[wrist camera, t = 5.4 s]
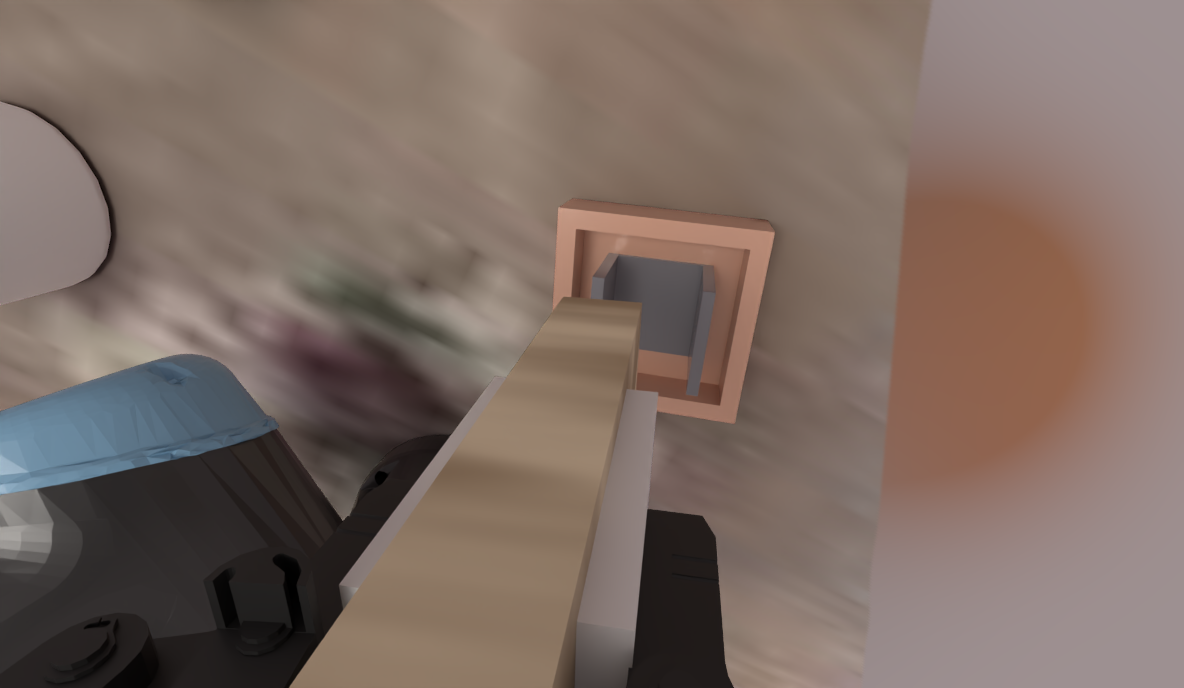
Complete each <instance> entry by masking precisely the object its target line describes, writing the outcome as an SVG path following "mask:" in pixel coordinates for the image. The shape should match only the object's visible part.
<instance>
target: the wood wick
mask: <svg viewBox="0 0 1184 688" xmlns="http://www.w3.org/2000/svg"><path fill="white" fill-rule="evenodd" d="M641 313H642V303H640V302H627V301H614V300H601V299H589V298H576V297H563V298H562V299H561V301H560V302H559V303H558V305H557V306H556V308H555V309H554V311H553V312H552V313H551V315H550V316H549V318H548V319H547V321H546V322H545V323H544V325H543V326H542V328H541V329H540V331H539V332H538V333H537V335H536V336H535V338H534V339H533V340H532V342H531V343H530V345H529V346H528V348H527V349H526V350H525V352H524V353H523V355H522V356H521V358H520V359H519V360H518V362H517V363H516V365H515V366H514V368H513V369H512V370H511V372H510V373H509V375H508V376H507V378H506V379H505V380H504V382H503V383H502V385H501V386H500V388H499V389H498V390H497V392H496V393H495V395H494V396H493V397H492V399H491V400H490V402H489V403H488V405H487V406H486V407H485V409H484V410H483V412H482V413H481V415H480V416H479V417H478V419H477V420H476V422H475V423H474V425H473V426H472V427H471V429H470V430H469V432H468V433H467V435H466V436H465V437H464V439H463V440H462V442H461V443H460V445H459V446H458V447H457V449H456V450H455V452H454V453H453V455H452V456H451V457H450V459H449V460H448V462H447V463H446V464H445V466H444V467H443V469H442V470H441V472H440V473H439V474H438V476H437V477H436V479H435V480H434V482H433V483H432V484H431V486H430V487H429V489H428V490H427V492H426V493H425V494H424V496H423V497H422V499H421V500H420V502H419V503H418V504H417V506H416V507H415V509H414V510H413V512H412V513H411V514H410V516H409V517H408V519H407V520H406V521H405V523H404V524H403V526H402V527H401V529H400V530H399V531H398V533H397V534H396V536H395V537H394V539H393V540H392V541H391V543H390V544H389V546H388V547H387V549H386V550H385V551H384V553H383V554H382V556H381V557H380V559H379V560H378V561H377V563H376V564H375V566H374V567H373V569H372V570H371V571H370V573H369V574H368V576H367V577H366V579H365V580H364V581H363V583H362V584H361V586H360V587H359V588H358V590H357V591H356V593H355V594H354V596H353V597H352V598H351V600H350V601H349V603H348V604H347V606H346V607H345V608H344V610H343V611H342V613H341V614H340V616H339V617H338V618H337V620H336V621H335V623H334V624H333V626H332V627H331V628H330V630H329V631H328V633H327V634H326V636H325V637H324V638H323V640H322V641H321V643H320V644H319V645H318V647H317V648H316V650H315V651H314V653H313V654H312V655H311V657H310V658H309V660H308V661H307V663H306V664H305V665H304V667H303V668H302V670H301V671H300V673H299V674H298V675H297V677H296V678H295V680H294V681H293V683H292V684H291V685H290V687H289V688H575V658H576V627H577V618H578V613H579V609H580V604H581V599H582V595H583V590H584V586H585V581H586V576H587V572H588V567H589V562H590V558H591V553H592V548H593V544H594V539H595V534H596V530H597V525H598V521H599V516H600V511H601V507H602V502H603V497H604V493H605V488H606V483H607V479H608V474H609V469H610V465H611V460H612V456H613V451H614V446H615V442H616V437H617V432H618V428H619V423H620V418H621V414H622V409H623V404H624V400H625V395H626V391H627V389H630V390H636V383H637V369H638V355H639V341H640V327H641Z"/></svg>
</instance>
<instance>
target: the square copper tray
mask: <svg viewBox="0 0 1184 688" xmlns="http://www.w3.org/2000/svg"><path fill="white" fill-rule="evenodd" d="M774 235H775V231H774V230H773V228H772V227H771V225H770V223H769V222H768V220H761V219H752V218H743V217H734V216H725V215H717V214H708V213H699V212H690V211H681V210H672V209H663V208H654V207H645V206H636V205H627V204H618V203H609V202H601V201H592V200H583V199H574V198H572V199H571V200H569V201H568V202H566V203H565V204H563V205H562V206H560V207H559V208H558V225H557V243H556V260H555V278H554V295H553V311H554V309H555V308H556V306H557V305H558V303H559V302H560V301H561V299H562V298H563V297H576V298H589V299H601V300H614V301H627V302H640V303H642V313H641V327H640V341H639V355H638V369H637V383H636V390H640V391H650V392H658V401H657V412H664V413H670V414H676V415H682V416H688V417H695V418H701V419H707V420H713V421H719V422H726V423H732V424H735V420H736V415H737V410H738V406H739V401H740V396H741V391H742V387H743V382H744V377H745V372H746V368H747V363H748V358H749V353H750V349H751V344H752V339H753V335H754V330H755V325H756V320H757V316H758V311H759V306H760V301H761V297H762V292H763V287H764V282H765V278H766V273H767V268H768V263H769V259H770V254H771V249H772V245H773V240H774Z"/></svg>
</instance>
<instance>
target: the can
mask: <svg viewBox="0 0 1184 688" xmlns="http://www.w3.org/2000/svg"><path fill="white" fill-rule="evenodd" d="M110 237H111V230H110V221H109V212H108V207H107V204H106V201H105V199H104V196H103V193H102V191H101V188H100V185H99V183H98V180H97V178H96V177H95V175H94V174H93V172H92V171H91V169H90V167H89V166H88V164H87V163H86V161H85V160H84V158H83V156H82V155H81V153H80V152H79V151H78V150H77V149H76V148H75V147H74V146H73V145H72V144H71V143H70V142H69V141H68V140H67V139H66V137H65V136H64V135H63V134H62V133H61V132H60V131H59V130H58V129H57V128H55V127H54V126H52V125H51V124H49V123H48V122H46V121H44V120H43V119H41V118H40V117H38V116H37V115H35V114H34V113H32V112H30V111H28V110H25V109H23V108H20V107H17V106H13V105H10V104H7V103H3V102H0V305H4V304H7V303H11V302H15V301H18V300H22V299H26V298H30V297H33V296H37V295H41V294H44V293H48V292H52V291H55V290H59V289H63V288H66V287H70V286H73V285H75V284H77V283H79V282H81V281H83V280H85V279H87V278H89V277H90V276H91V275H92V274H94V273H95V272H96V270H97V269H98V267H99V266H100V265H101V263H102V262H103V261H104V259H105V258H106V256H107V252H108V247H109V242H110Z"/></svg>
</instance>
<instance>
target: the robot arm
mask: <svg viewBox="0 0 1184 688" xmlns="http://www.w3.org/2000/svg"><path fill="white" fill-rule="evenodd" d="M506 378H507V377H498V376H495V377H494V378H493V380H492V381H491V382H490V384H489V385H488V386H487V388H486V389H485V390H484V392H483V393H482V394H481V396H480V397H479V398H478V400H477V401H476V402H475V404H474V405H473V406H472V408H471V409H470V410H469V412H468V413H467V414H466V416H465V417H464V418H463V420H462V421H461V422H460V424H459V425H458V426H457V428H456V429H455V430H454V432H453V433H452V434H451V436H445V435H437V436H426V437H421V438H417V439H413V440H410V441H408V442H405V443H403V444H401V445H399V446H398V447H396V448H395V449H393V450H392V451H391V452H389V453H388V454H387V455H386V456H385V457H384V458H383V459H382V460H381V462H380V463H379V464H378V465H377V466H376V467H375V468H374V469H373V470H372V471H371V473H370V474H369V475H368V476H367V478H366V479H365V481H364V482H363V484H362V486H361V488H360V490H359V492H358V495H357V497H356V500H355V503H354V506H353V508H352V511H351V514H350V516H347V517H346V519H345V520H344V521H342V519H341V518H340V516H339V515H338V514H337V512H336V511H335V509H334V508H333V507H332V505H331V504H330V502H329V501H328V500H327V498H326V497H325V495H324V494H323V493H322V491H321V490H320V488H319V487H318V486H317V484H316V483H315V481H314V480H313V479H312V477H311V476H310V474H309V473H308V472H307V470H306V469H305V467H304V466H303V465H302V463H301V462H300V460H299V459H298V458H297V456H296V455H295V454H294V452H293V451H292V449H291V448H290V447H289V445H288V444H287V442H286V441H285V440H284V438H283V437H282V435H281V434H280V433H279V431H278V430H277V428H278V427H279V425H278V423H277V422H276V421H275V418H272V417H271V416H267V415H266V414H265V413H264V412H263V410H262V409H261V408H260V407H259V406H258V404H257V403H256V402H255V401H254V399H253V398H252V397H251V396H250V394H249V393H248V392H247V391H246V389H245V388H244V387H243V386H242V384H241V383H240V382H239V381H238V379H237V378H236V377H235V376H234V375H233V373H232V372H231V371H230V370H229V369H228V368H227V367H226V366H224V365H223V364H222V363H220V362H218V361H217V360H214V359H212V358H209V357H206V356H202V355H195V354H180V355H174V356H170V357H165V358H161V359H158V360H154V361H151V362H148V363H144V364H141V365H138V366H134V367H131V368H128V369H125V370H121V371H118V372H115V373H112V374H109V375H106V376H103V377H100V378H97V379H94V380H91V381H88V382H85V383H82V384H79V385H76V386H73V387H70V388H67V389H64V390H61V391H58V392H55V393H52V394H49V395H46V396H43V397H40V398H37V399H34V400H31V401H29V402H26V403H23V404H20V405H17V406H14V407H11V408H8V409H5V410H3V411H0V688H289V687H290V685H291V684H292V683H293V681H294V680H295V678H296V677H297V675H298V674H299V673H300V671H301V670H302V668H303V667H304V665H305V664H306V663H307V661H308V660H309V658H310V657H311V655H312V654H313V653H314V651H315V650H316V648H317V647H318V645H319V644H320V643H321V641H322V640H323V638H324V637H325V636H326V634H327V633H328V631H329V630H330V628H331V627H332V626H333V624H334V623H335V621H336V620H337V618H338V617H339V616H340V614H341V613H342V611H343V610H344V608H345V607H346V606H347V604H348V603H349V601H350V600H351V598H352V597H353V596H354V594H355V593H356V591H357V590H358V588H359V587H360V586H361V584H362V583H363V581H364V580H365V579H366V577H367V576H368V574H369V573H370V571H371V570H372V569H373V567H374V566H375V564H376V563H377V561H378V560H379V559H380V557H381V556H382V554H383V553H384V551H385V550H386V549H387V547H388V546H389V544H390V543H391V541H392V540H393V539H394V537H395V536H396V534H397V533H398V531H399V530H400V529H401V527H402V526H403V524H404V523H405V521H406V520H407V519H408V517H409V516H410V514H411V513H412V512H413V510H414V509H415V507H416V506H417V504H418V503H419V502H420V500H421V499H422V497H423V496H424V494H425V493H426V492H427V490H428V489H429V487H430V486H431V484H432V483H433V482H434V480H435V479H436V477H437V476H438V474H439V473H440V472H441V470H442V469H443V467H444V466H445V464H446V463H447V462H448V460H449V459H450V457H451V456H452V455H453V453H454V452H455V450H456V449H457V447H458V446H459V445H460V443H461V442H462V440H463V439H464V437H465V436H466V435H467V433H468V432H469V430H470V429H471V427H472V426H473V425H474V423H475V422H476V420H477V419H478V417H479V416H480V415H481V413H482V412H483V410H484V409H485V407H486V406H487V405H488V403H489V402H490V400H491V399H492V397H493V396H494V395H495V393H496V392H497V390H498V389H499V388H500V386H501V385H502V383H503V382H504V380H505V379H506ZM657 401H658V392H650V391H640V390H630V389H627V391H626V395H625V400H624V404H623V409H622V414H621V418H620V423H619V428H618V432H617V437H616V442H615V446H614V451H613V456H612V460H611V465H610V469H609V474H608V479H607V483H606V488H605V493H604V497H603V502H602V507H601V511H600V516H599V521H598V525H597V530H596V534H595V539H594V544H593V548H592V553H591V558H590V562H589V567H588V572H587V576H586V581H585V586H584V590H583V595H582V599H581V604H580V609H579V613H578V618H577V627H576V658H575V688H734V687H733V685H732V683H731V681H730V679H729V677H728V673H727V669H726V664H725V655H724V642H723V629H722V616H721V603H720V590H719V576H718V565H717V550H716V537H715V535H714V534H713V532H712V531H711V529H710V527H709V526H708V524H707V523H706V521H705V519H704V518H703V516H699V515H691V514H683V513H675V512H667V511H659V510H651V509H648V503H649V492H650V481H651V470H652V458H653V447H654V435H655V424H656V413H657Z"/></svg>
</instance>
